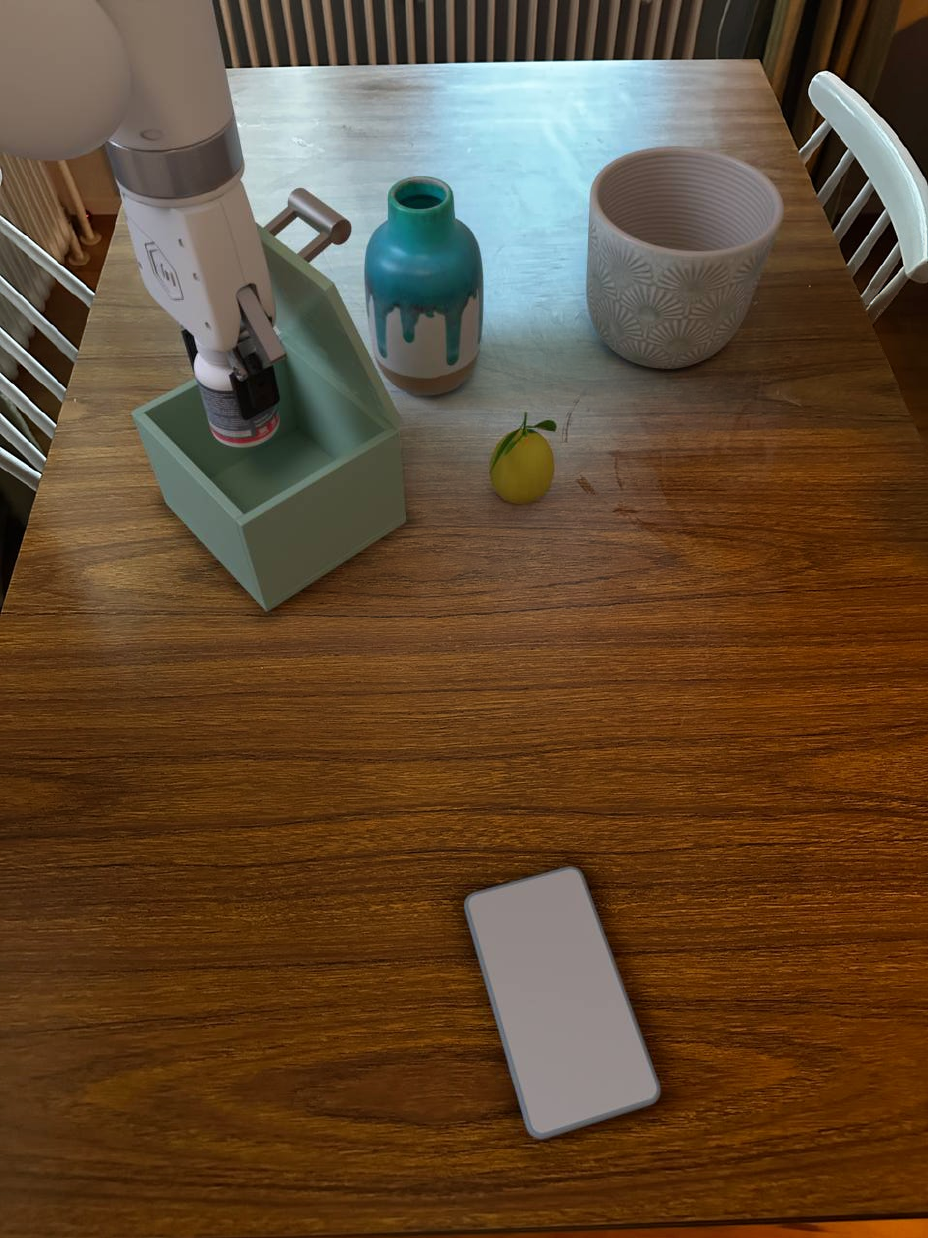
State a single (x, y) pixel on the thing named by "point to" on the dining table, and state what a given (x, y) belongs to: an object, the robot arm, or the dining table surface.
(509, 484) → the lemon
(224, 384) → the pill bottle
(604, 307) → the planter
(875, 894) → the dining table surface
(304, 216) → the box lid
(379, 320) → the vase
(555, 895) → the smartphone
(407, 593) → the dining table surface
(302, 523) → the green box
